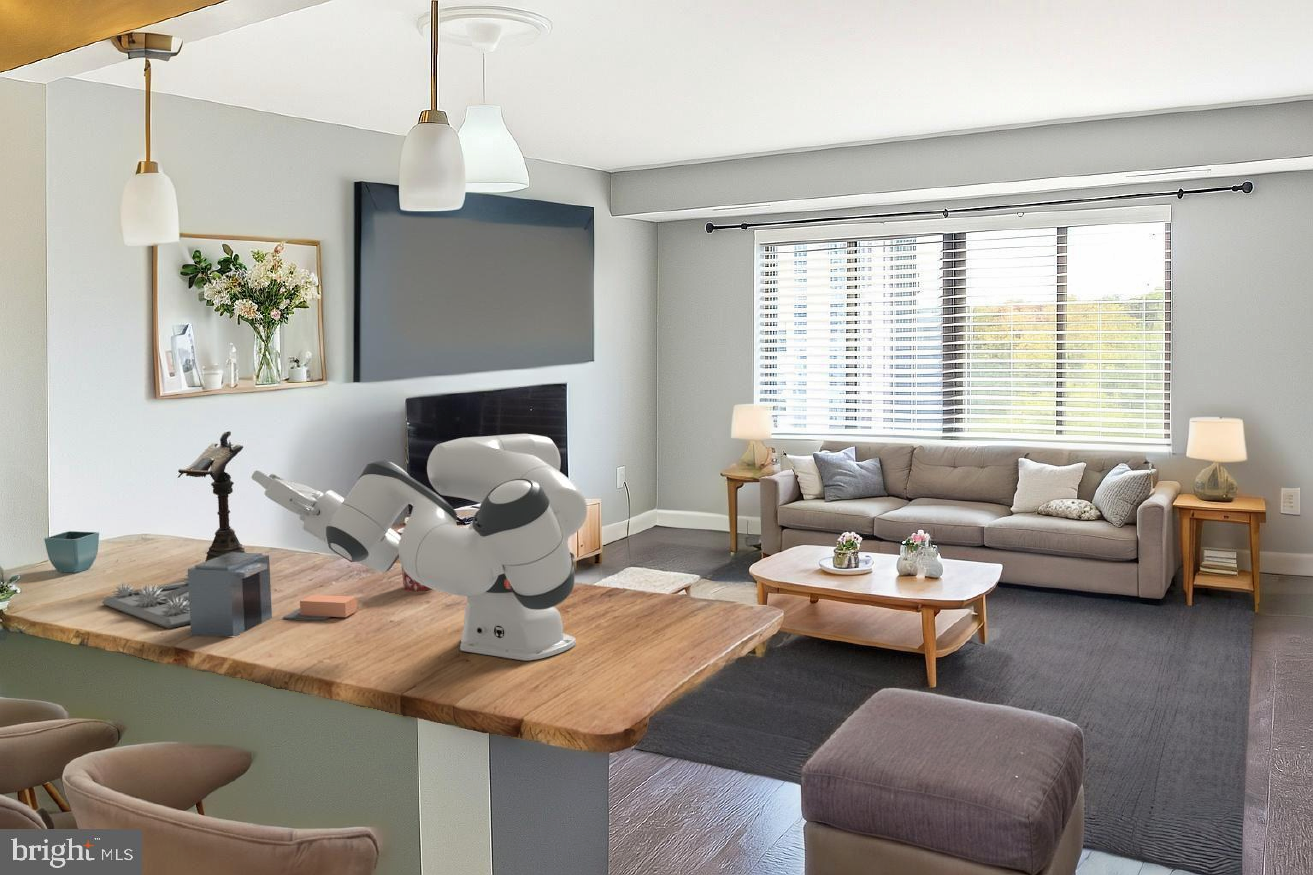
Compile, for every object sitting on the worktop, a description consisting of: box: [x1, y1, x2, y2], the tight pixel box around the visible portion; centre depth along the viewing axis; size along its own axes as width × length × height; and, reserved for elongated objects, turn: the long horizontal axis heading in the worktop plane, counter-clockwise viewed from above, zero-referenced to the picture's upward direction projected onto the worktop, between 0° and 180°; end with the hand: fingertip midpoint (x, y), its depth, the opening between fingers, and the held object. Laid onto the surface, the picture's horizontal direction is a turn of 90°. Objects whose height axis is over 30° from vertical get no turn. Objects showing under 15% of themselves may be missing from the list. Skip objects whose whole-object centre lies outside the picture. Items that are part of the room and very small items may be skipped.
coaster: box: [282, 608, 331, 622], centre depth 220 cm, size 9×9×1 cm
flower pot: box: [43, 530, 100, 574], centre depth 259 cm, size 9×9×9 cm
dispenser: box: [187, 552, 273, 637], centre depth 210 cm, size 10×14×14 cm
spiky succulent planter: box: [102, 574, 191, 630], centre depth 226 cm, size 30×22×7 cm
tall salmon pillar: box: [299, 594, 358, 618], centre depth 219 cm, size 3×5×10 cm
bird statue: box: [177, 431, 246, 562], centre depth 251 cm, size 17×13×35 cm
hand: (262, 475), depth 198 cm, fingers open, 8 cm apart
